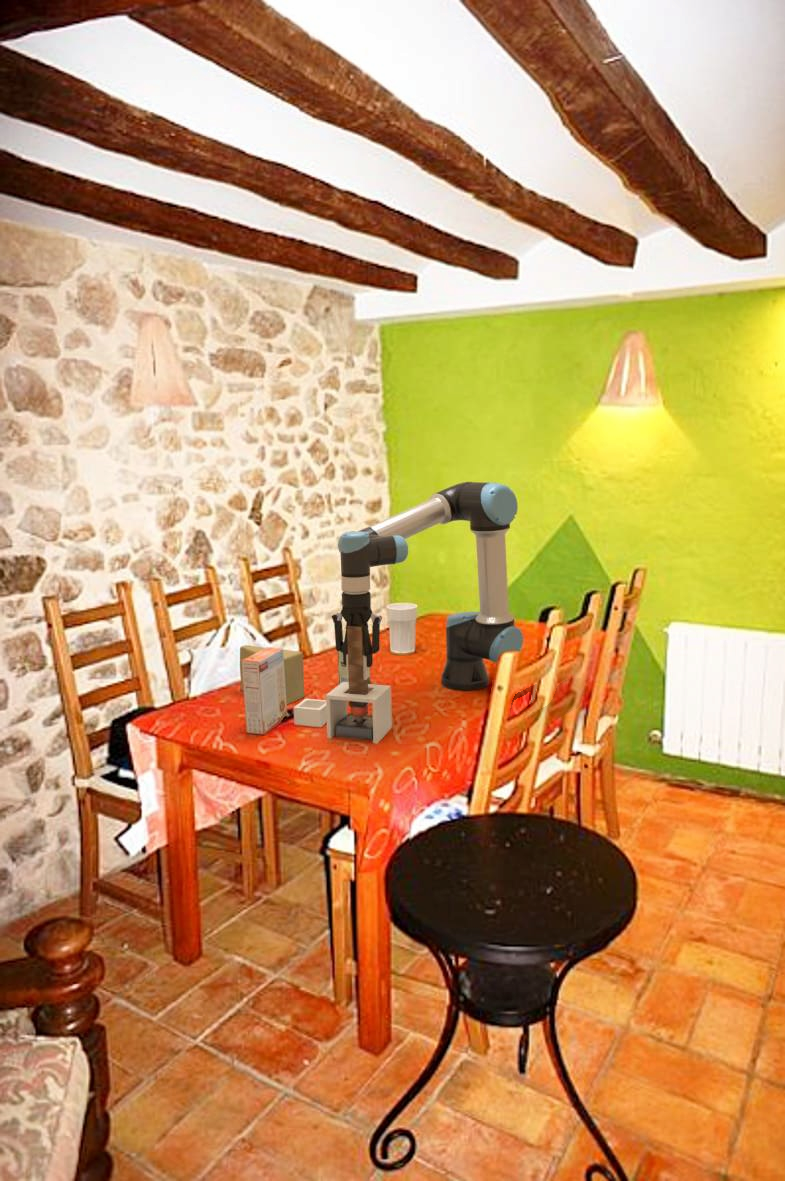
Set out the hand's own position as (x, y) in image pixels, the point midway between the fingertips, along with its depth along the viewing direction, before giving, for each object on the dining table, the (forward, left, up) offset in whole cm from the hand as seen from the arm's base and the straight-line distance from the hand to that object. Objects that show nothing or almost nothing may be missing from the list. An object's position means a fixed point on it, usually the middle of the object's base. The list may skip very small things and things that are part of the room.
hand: (358, 677), depth 214 cm
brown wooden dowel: (0, 0, -8) cm, 8 cm away
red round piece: (0, 0, -14) cm, 14 cm away
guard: (0, 0, -16) cm, 16 cm away
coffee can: (+16, -37, -16) cm, 43 cm away
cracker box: (+27, +2, -16) cm, 31 cm away
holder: (+16, -5, -16) cm, 23 cm away
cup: (+14, -81, -16) cm, 84 cm away
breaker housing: (0, 0, -16) cm, 16 cm away
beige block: (+39, -22, -16) cm, 47 cm away
